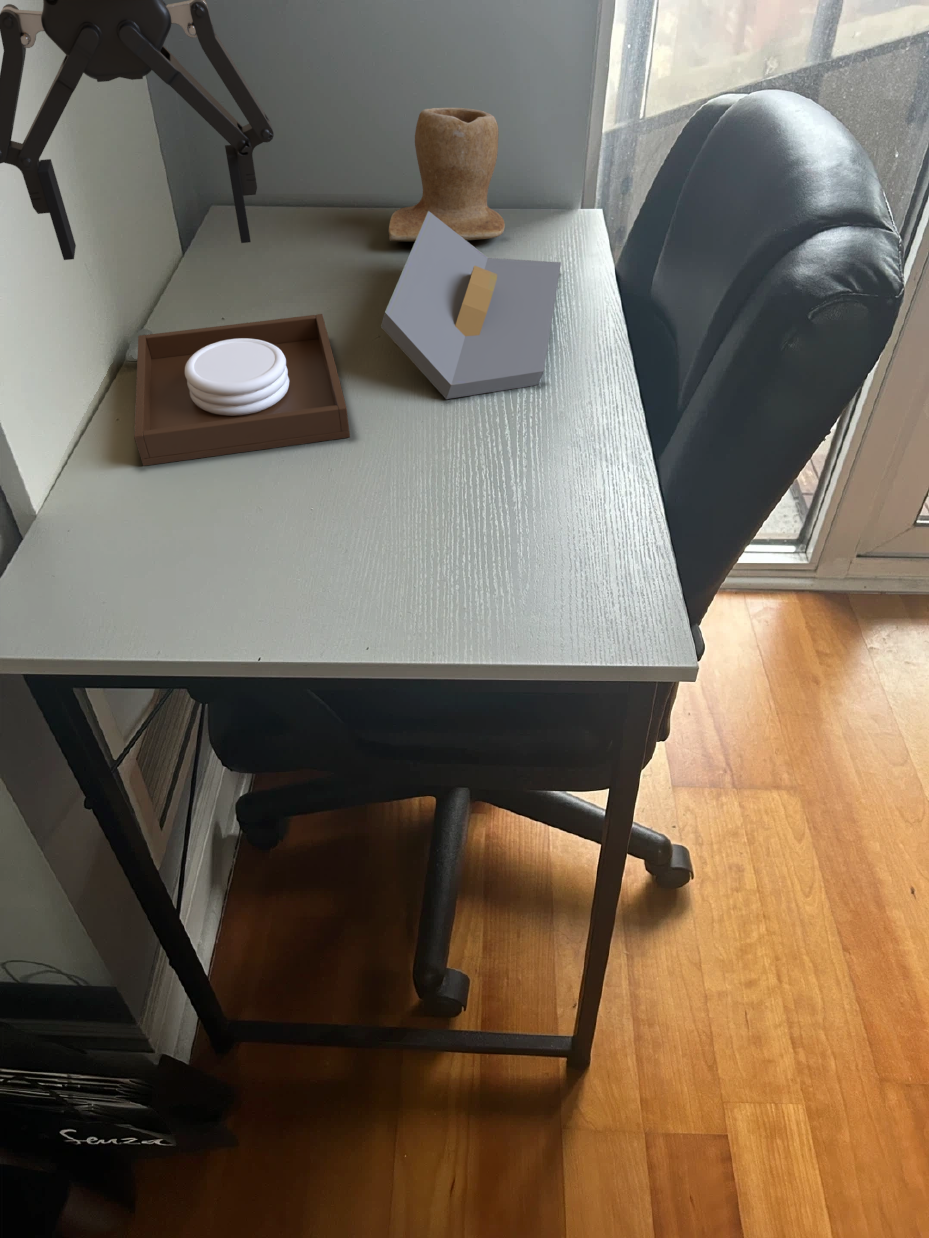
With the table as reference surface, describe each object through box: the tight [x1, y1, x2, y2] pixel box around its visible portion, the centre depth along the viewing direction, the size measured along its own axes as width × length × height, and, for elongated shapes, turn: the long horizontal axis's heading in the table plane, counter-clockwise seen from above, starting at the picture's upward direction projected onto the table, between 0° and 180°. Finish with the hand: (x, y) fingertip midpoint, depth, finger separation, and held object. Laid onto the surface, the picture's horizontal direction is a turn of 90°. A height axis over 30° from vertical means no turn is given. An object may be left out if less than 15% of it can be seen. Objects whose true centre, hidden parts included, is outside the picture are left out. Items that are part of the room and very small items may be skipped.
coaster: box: [185, 338, 289, 416], centre depth 95 cm, size 10×10×4 cm
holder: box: [133, 313, 351, 467], centre depth 95 cm, size 20×20×3 cm
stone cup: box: [388, 107, 506, 243], centre depth 120 cm, size 15×12×15 cm
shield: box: [380, 211, 562, 400], centre depth 105 cm, size 17×5×30 cm
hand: (158, 245), depth 75 cm, fingers open, 13 cm apart
